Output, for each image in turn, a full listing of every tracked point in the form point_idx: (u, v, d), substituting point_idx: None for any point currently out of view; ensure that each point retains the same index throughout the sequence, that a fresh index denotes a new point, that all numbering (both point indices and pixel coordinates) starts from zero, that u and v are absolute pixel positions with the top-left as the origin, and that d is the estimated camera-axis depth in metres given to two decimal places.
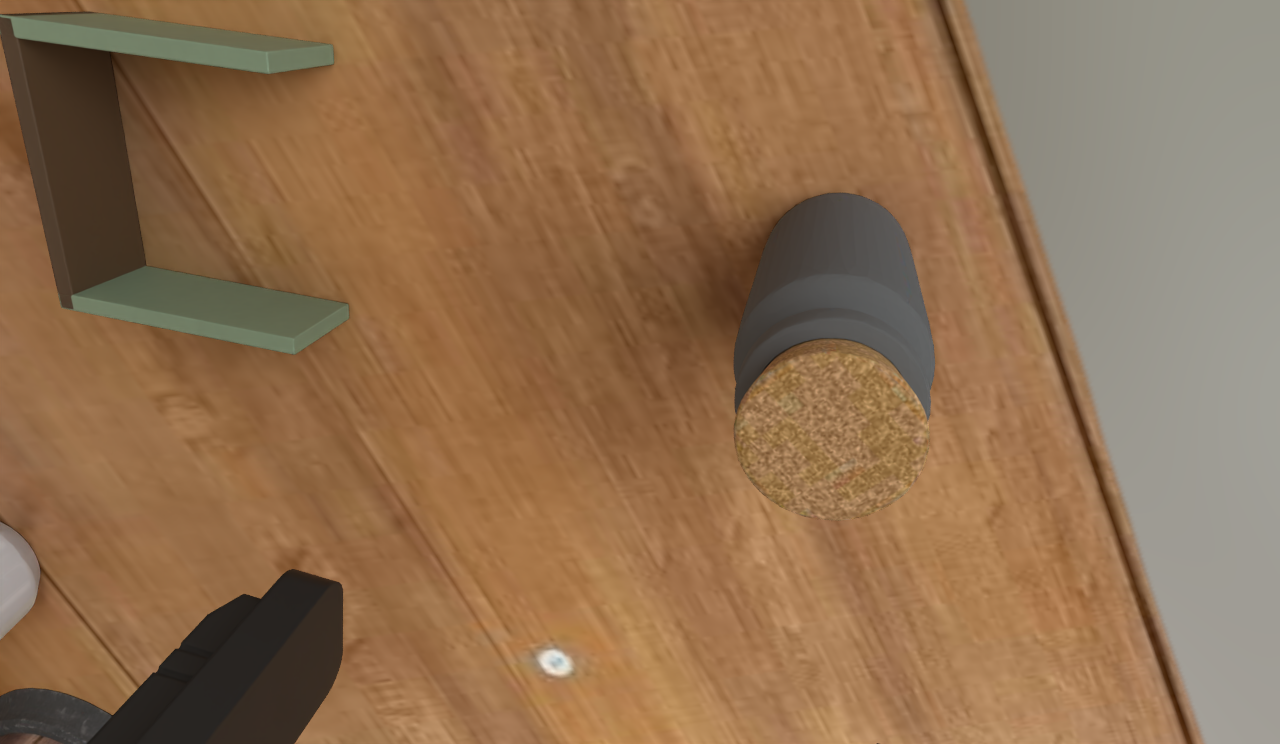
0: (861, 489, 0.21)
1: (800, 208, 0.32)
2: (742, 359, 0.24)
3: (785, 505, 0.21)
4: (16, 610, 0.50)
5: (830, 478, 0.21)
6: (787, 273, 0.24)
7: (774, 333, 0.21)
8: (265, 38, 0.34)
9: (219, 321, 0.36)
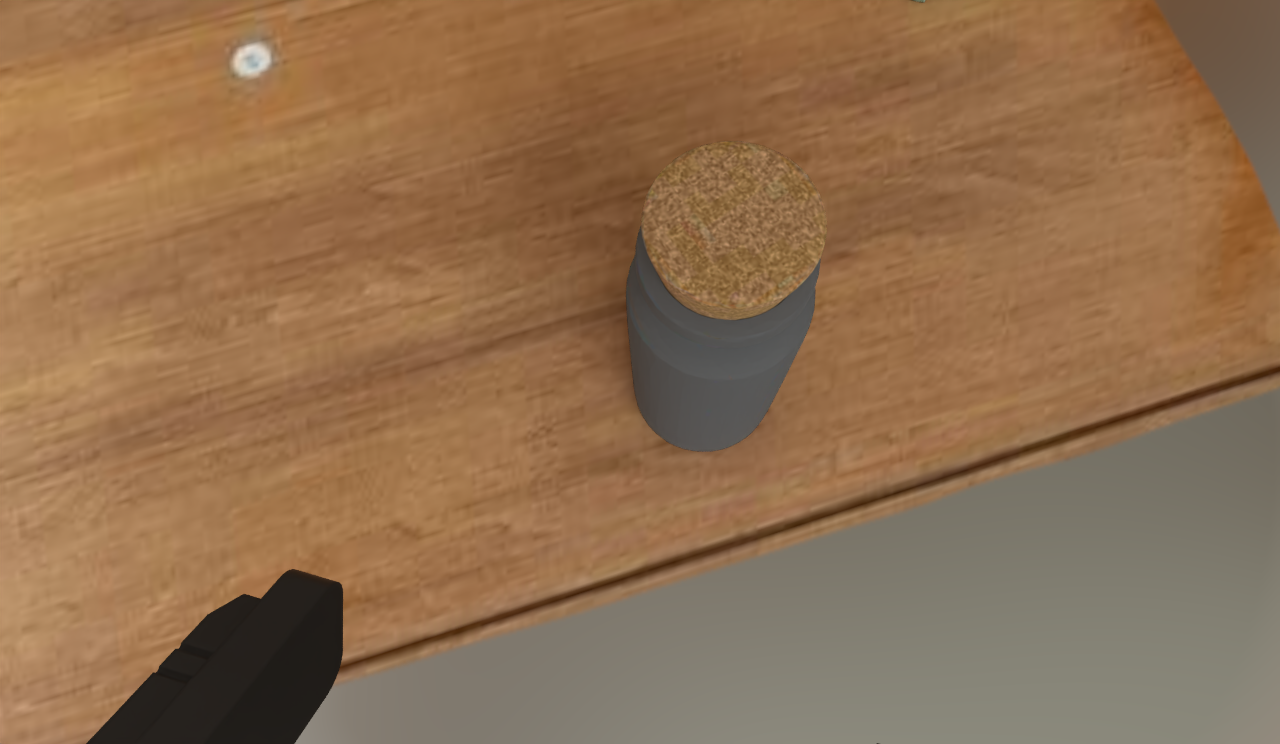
0: (680, 245, 0.21)
1: None
2: None
3: (661, 177, 0.21)
4: None
5: (693, 219, 0.21)
6: None
7: None
8: None
9: None
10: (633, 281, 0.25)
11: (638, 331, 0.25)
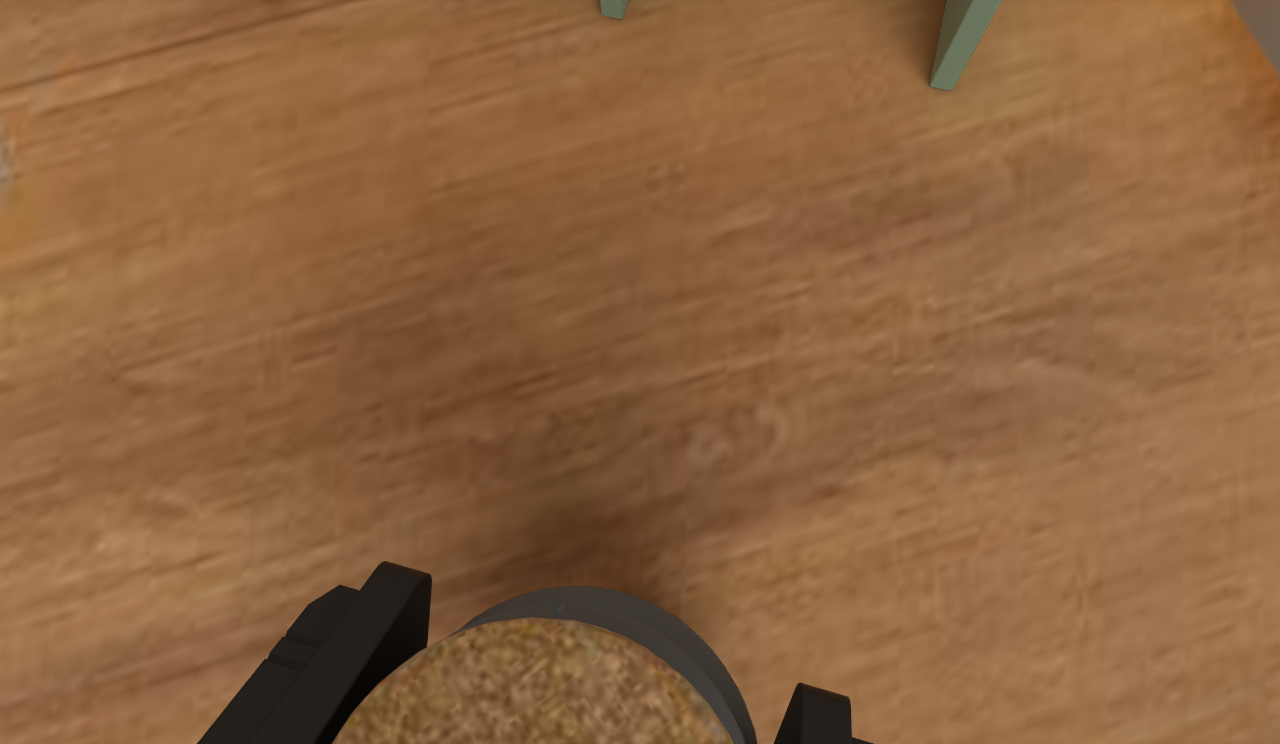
0: None
1: None
2: (609, 608, 0.13)
3: (353, 730, 0.08)
4: None
5: None
6: None
7: (730, 711, 0.10)
8: None
9: None
10: None
11: None
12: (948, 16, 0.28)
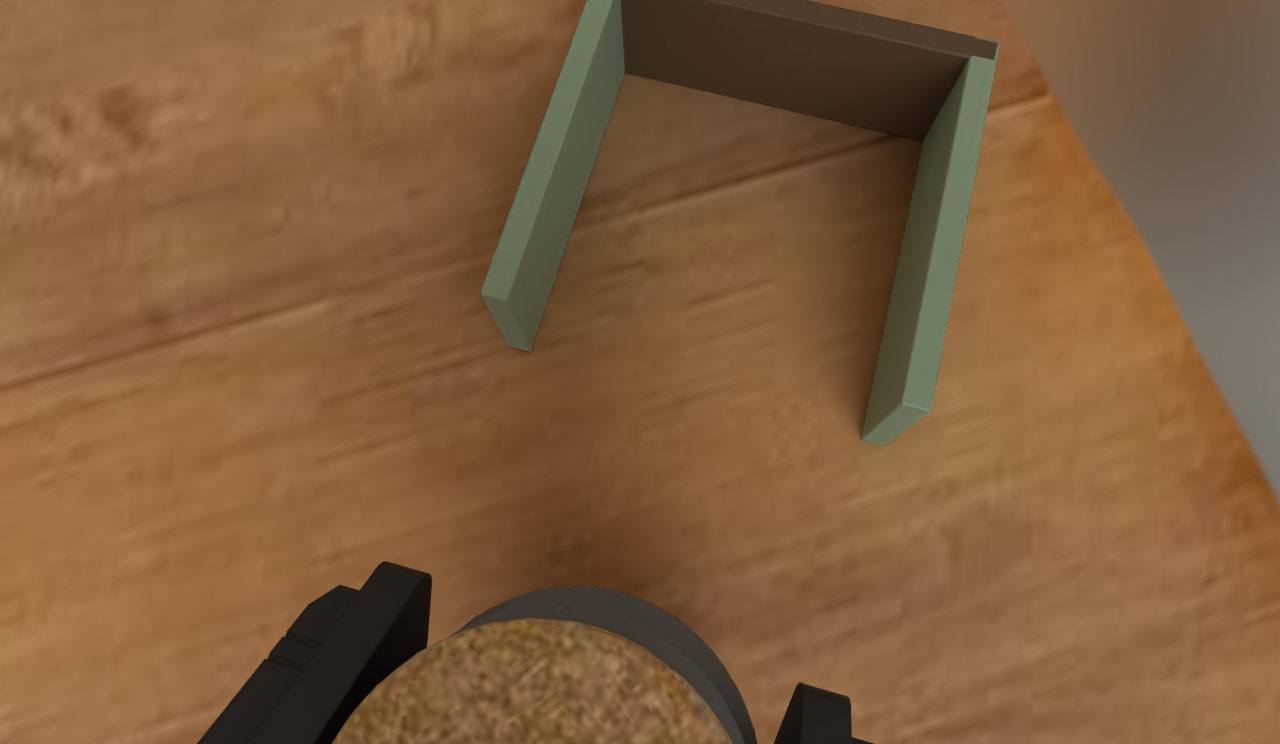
0: None
1: None
2: (609, 609, 0.13)
3: (351, 731, 0.08)
4: None
5: None
6: None
7: (730, 712, 0.10)
8: None
9: (549, 186, 0.24)
10: None
11: None
12: (881, 368, 0.25)
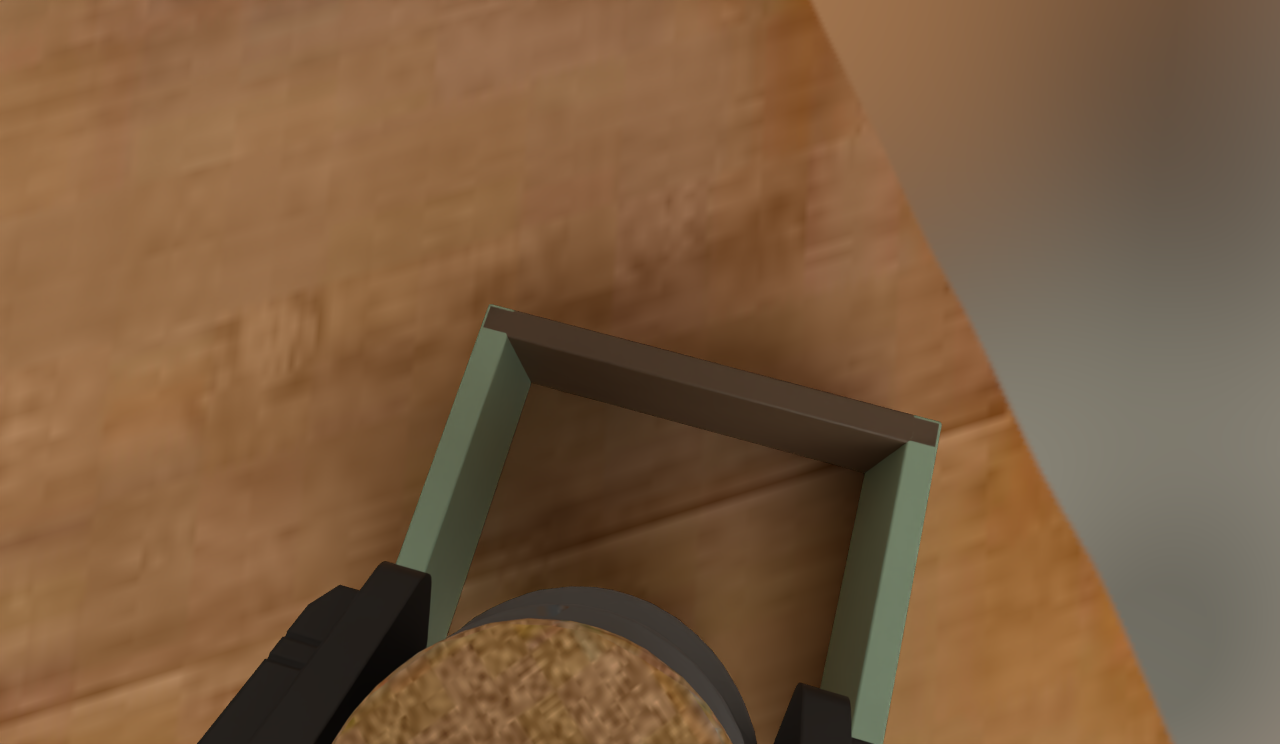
0: None
1: None
2: (609, 609, 0.13)
3: (353, 731, 0.08)
4: None
5: None
6: None
7: (729, 712, 0.10)
8: None
9: None
10: None
11: None
12: None
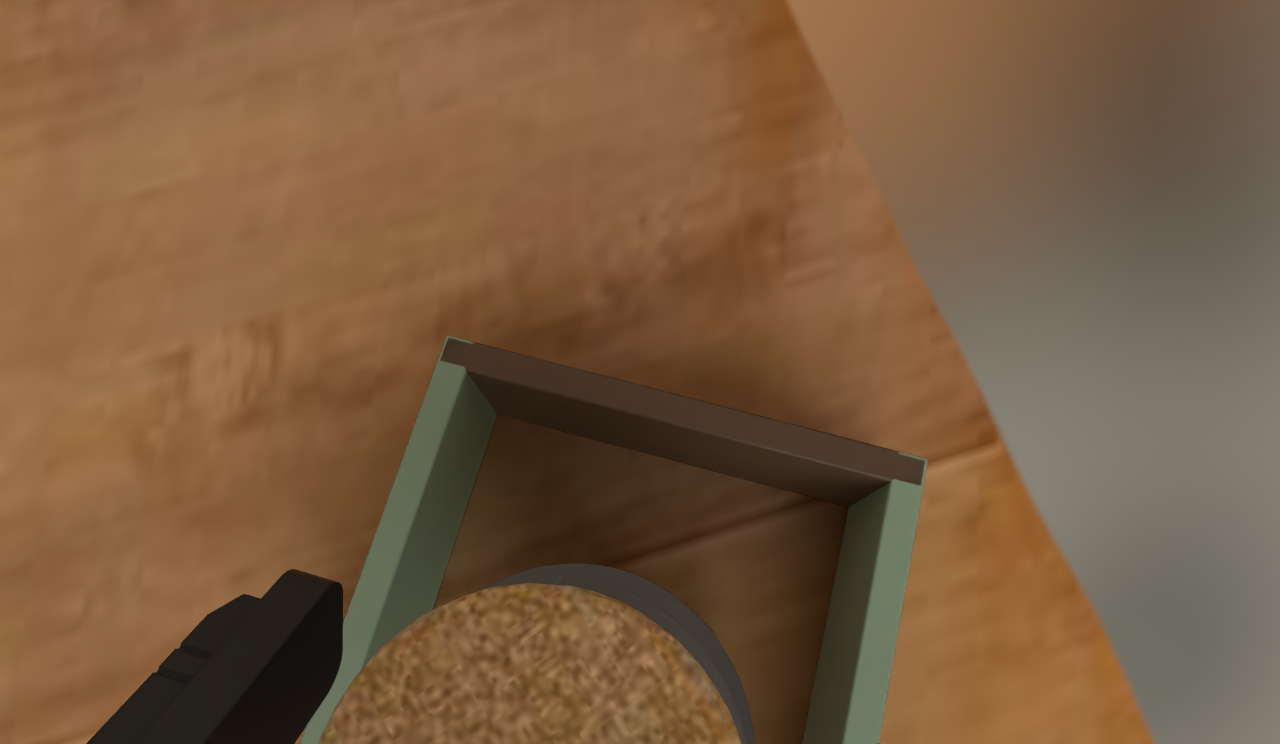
0: None
1: None
2: None
3: (358, 690, 0.09)
4: None
5: None
6: None
7: (722, 678, 0.11)
8: None
9: None
10: None
11: None
12: None
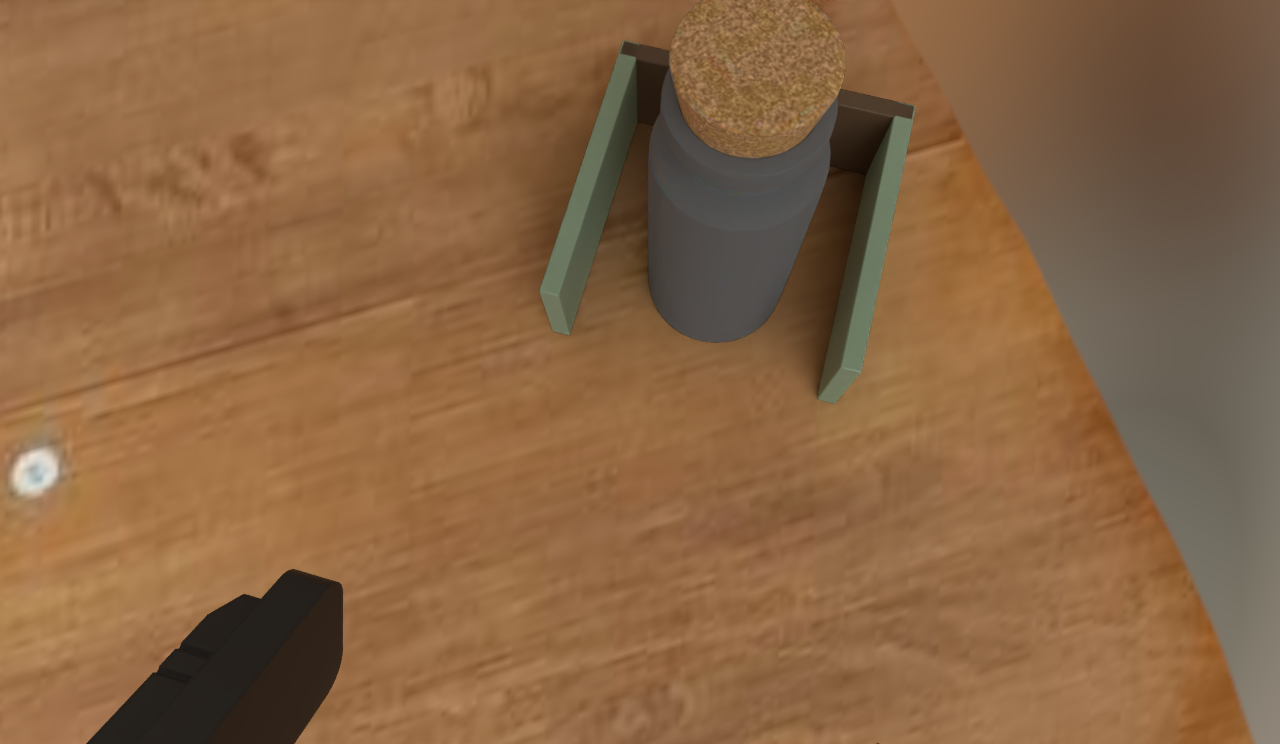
0: (707, 77, 0.22)
1: None
2: None
3: (687, 17, 0.22)
4: None
5: (718, 54, 0.22)
6: None
7: None
8: None
9: (587, 213, 0.33)
10: (656, 141, 0.26)
11: (660, 186, 0.26)
12: (831, 345, 0.34)
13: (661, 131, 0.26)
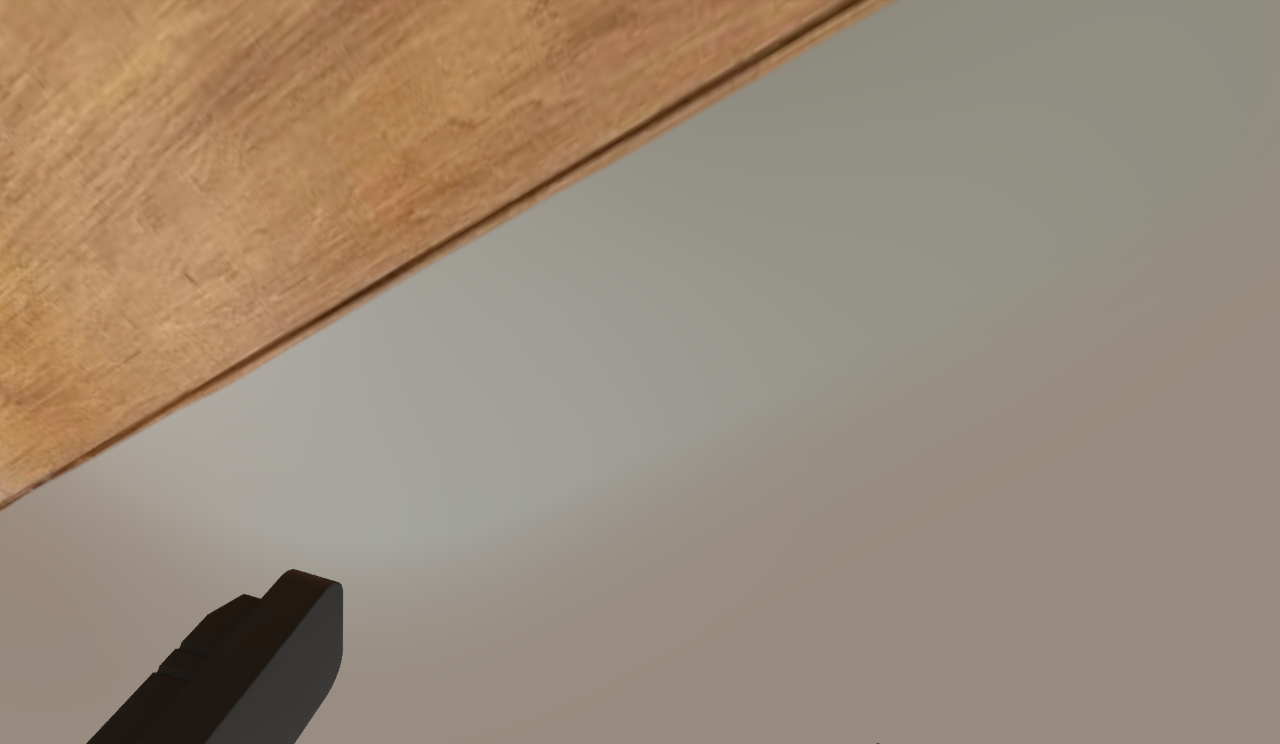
0: None
1: None
2: None
3: None
4: None
5: None
6: None
7: None
8: None
9: None
10: None
11: None
12: None
13: None
